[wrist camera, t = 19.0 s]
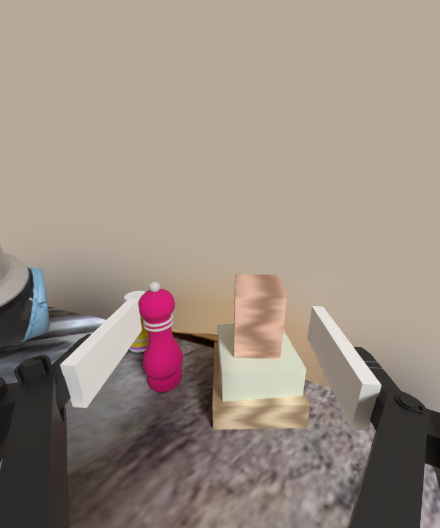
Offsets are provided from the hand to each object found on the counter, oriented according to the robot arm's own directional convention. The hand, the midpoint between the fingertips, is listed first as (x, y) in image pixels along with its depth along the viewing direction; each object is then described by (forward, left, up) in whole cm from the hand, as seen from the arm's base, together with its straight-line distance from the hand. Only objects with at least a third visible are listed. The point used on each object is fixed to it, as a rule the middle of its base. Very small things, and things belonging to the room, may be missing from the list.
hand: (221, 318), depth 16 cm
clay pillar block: (+5, +16, -15) cm, 22 cm away
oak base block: (+5, +16, -25) cm, 30 cm away
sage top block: (+5, +16, -20) cm, 26 cm away
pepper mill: (-11, +18, -25) cm, 32 cm away
